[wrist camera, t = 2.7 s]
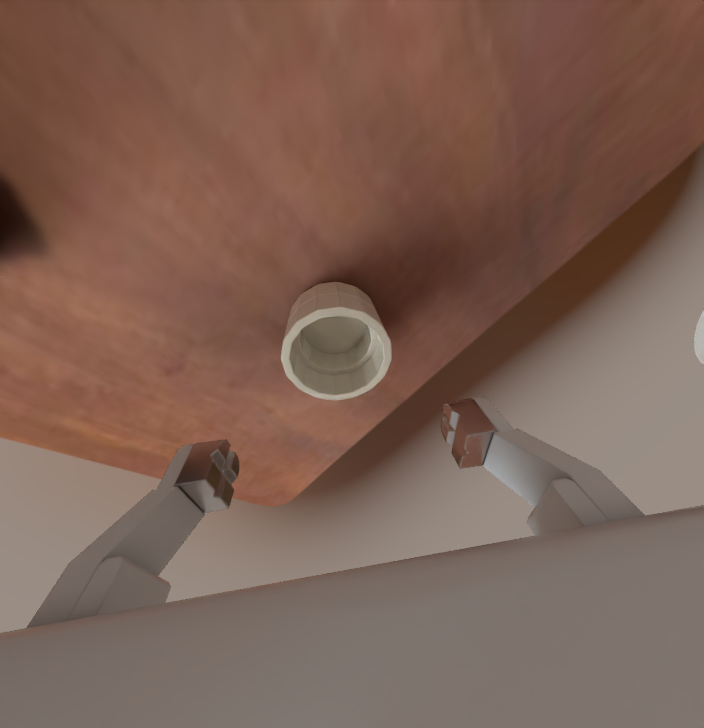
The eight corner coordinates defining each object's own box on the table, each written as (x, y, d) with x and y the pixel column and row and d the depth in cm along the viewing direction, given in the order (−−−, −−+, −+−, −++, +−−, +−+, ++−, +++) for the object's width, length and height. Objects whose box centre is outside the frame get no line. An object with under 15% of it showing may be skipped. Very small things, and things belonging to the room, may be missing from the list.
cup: (373, 273, 16) (390, 299, 12) (378, 352, 19) (392, 391, 15) (279, 286, 16) (266, 317, 12) (301, 364, 19) (296, 406, 15)
